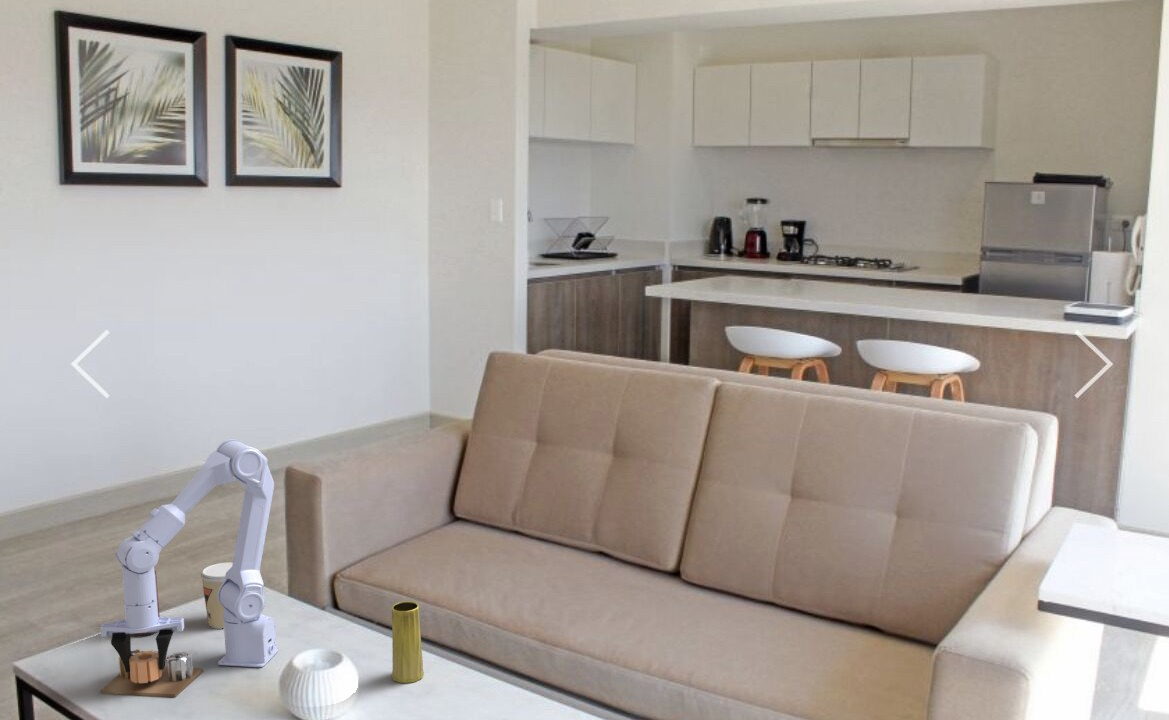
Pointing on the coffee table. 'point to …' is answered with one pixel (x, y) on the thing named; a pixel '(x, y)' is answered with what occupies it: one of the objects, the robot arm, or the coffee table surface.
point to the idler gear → (144, 667)
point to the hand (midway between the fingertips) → (145, 668)
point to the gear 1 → (122, 668)
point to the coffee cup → (214, 592)
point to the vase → (406, 643)
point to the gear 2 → (179, 666)
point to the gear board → (150, 685)
